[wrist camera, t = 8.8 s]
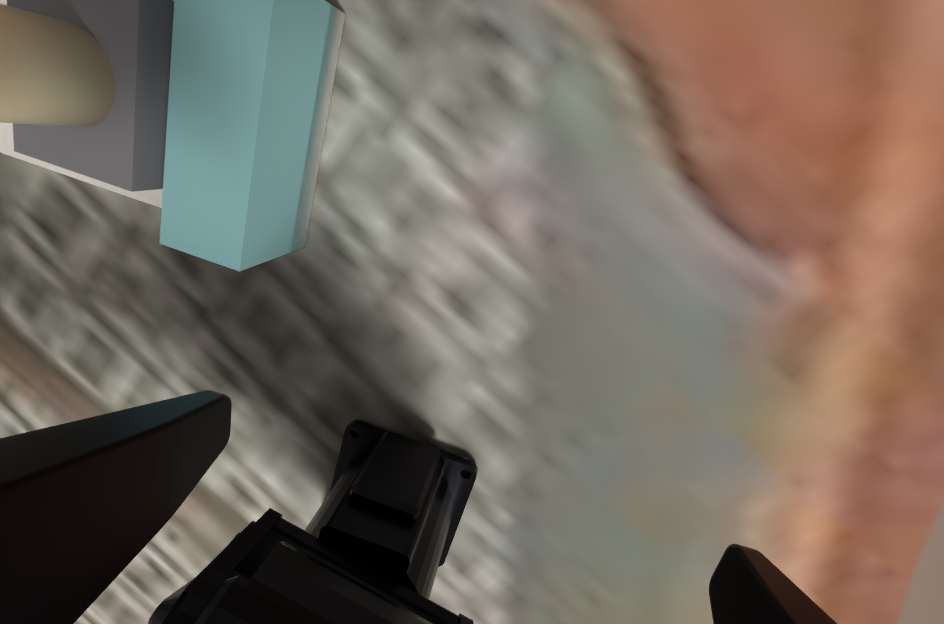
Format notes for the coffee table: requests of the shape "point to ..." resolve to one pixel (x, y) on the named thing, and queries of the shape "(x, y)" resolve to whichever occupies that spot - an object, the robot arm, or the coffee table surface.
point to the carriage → (89, 85)
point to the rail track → (239, 127)
